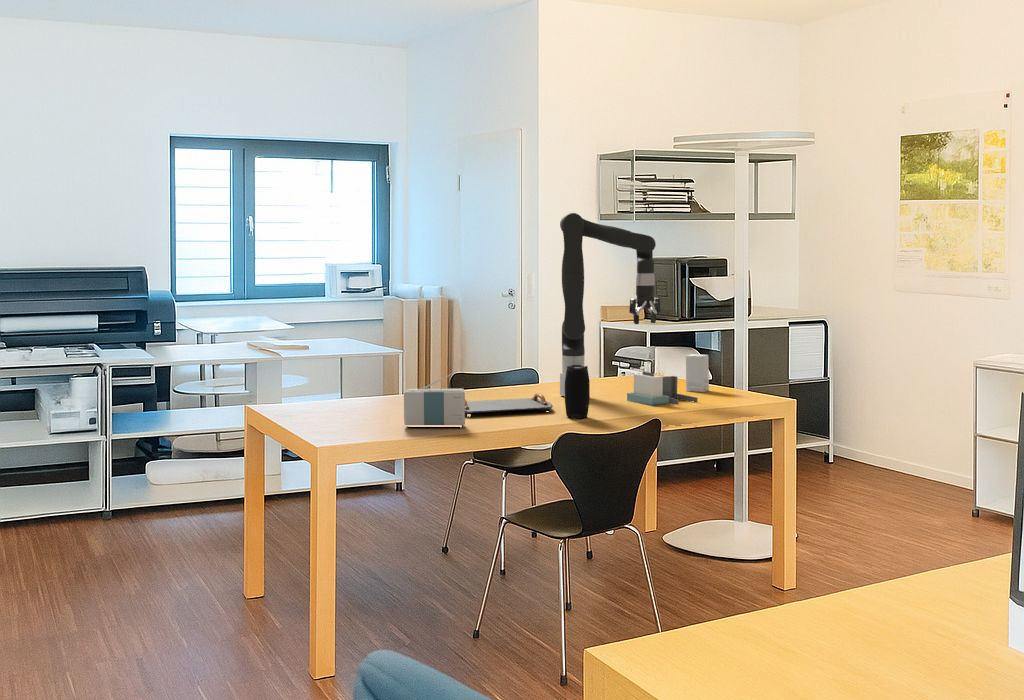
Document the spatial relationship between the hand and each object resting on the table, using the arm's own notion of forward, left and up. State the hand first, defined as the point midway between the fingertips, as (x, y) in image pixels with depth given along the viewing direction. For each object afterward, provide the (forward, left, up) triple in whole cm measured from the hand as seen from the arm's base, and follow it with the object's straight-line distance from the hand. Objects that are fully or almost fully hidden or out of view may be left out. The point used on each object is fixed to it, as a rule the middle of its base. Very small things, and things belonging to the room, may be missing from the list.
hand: (644, 323), depth 426 cm
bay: (+2, -18, -30) cm, 35 cm away
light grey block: (-9, -14, -29) cm, 34 cm away
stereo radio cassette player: (-106, -18, -30) cm, 112 cm away
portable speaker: (-53, -28, -30) cm, 67 cm away
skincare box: (+28, -1, -30) cm, 41 cm away
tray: (-9, -14, -30) cm, 34 cm away
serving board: (-69, -1, -31) cm, 76 cm away
